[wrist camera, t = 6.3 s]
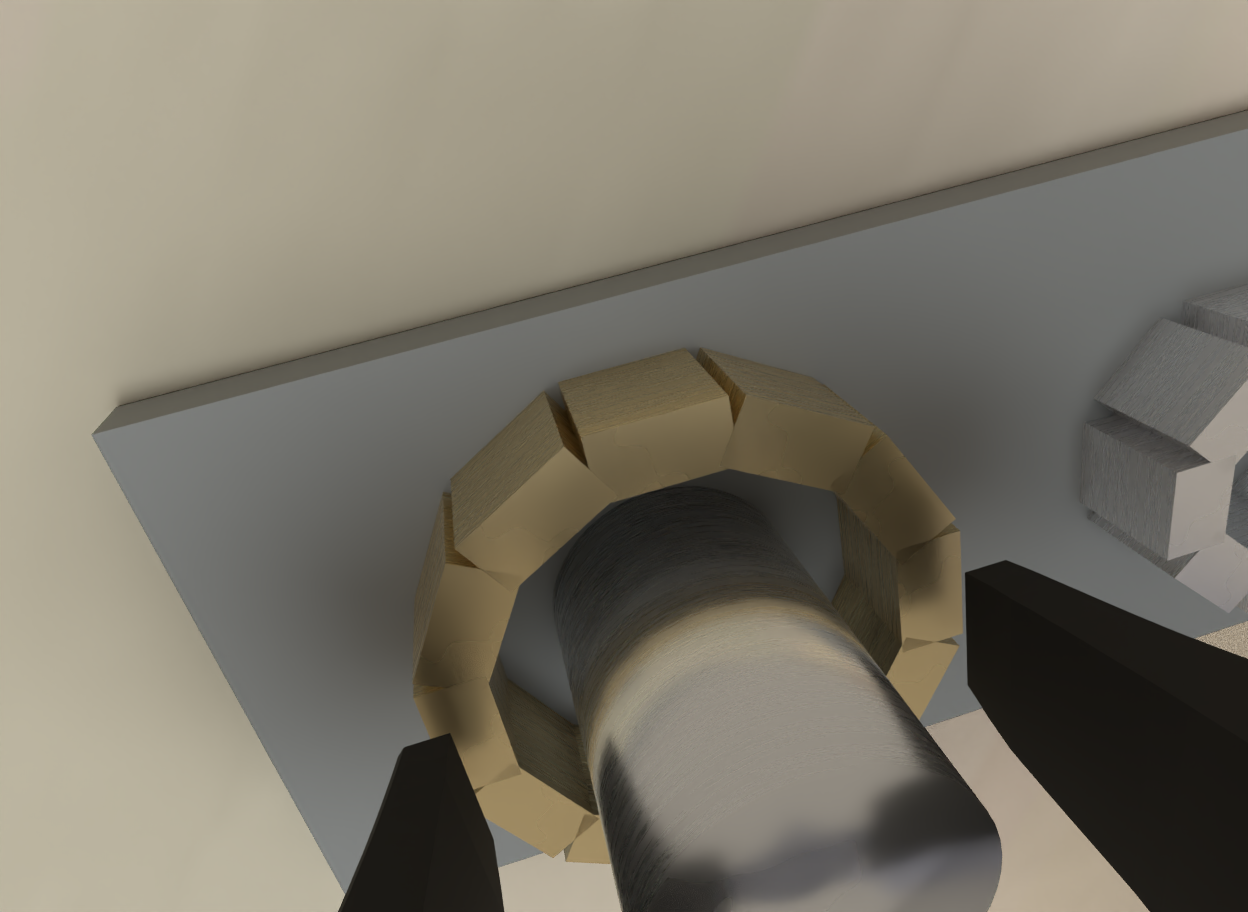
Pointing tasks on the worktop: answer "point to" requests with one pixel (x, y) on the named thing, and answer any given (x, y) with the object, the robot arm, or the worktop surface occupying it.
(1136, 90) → the worktop surface
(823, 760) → the metal cylinder peg
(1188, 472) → the narrow socket
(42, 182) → the worktop surface
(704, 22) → the worktop surface
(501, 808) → the wide socket
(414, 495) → the fitting board
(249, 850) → the worktop surface
